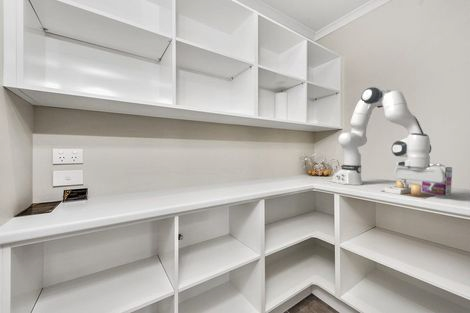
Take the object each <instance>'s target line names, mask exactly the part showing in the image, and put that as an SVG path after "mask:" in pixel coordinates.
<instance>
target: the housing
mask: <svg viewBox="0 0 470 313" xmlns="http://www.w3.org/2000/svg"><path fill="white" fill-rule="evenodd" d="M405 182H406V183H407V180H406V181H405ZM384 190H385V192H384V193H387V192H389V193H388V194H393V193H395V194H394V195H399V194H405V193H409V192H411V187H408V188H405V187H404V184H403V182H402V180H396V185H392V186H385V187H384Z"/></svg>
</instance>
